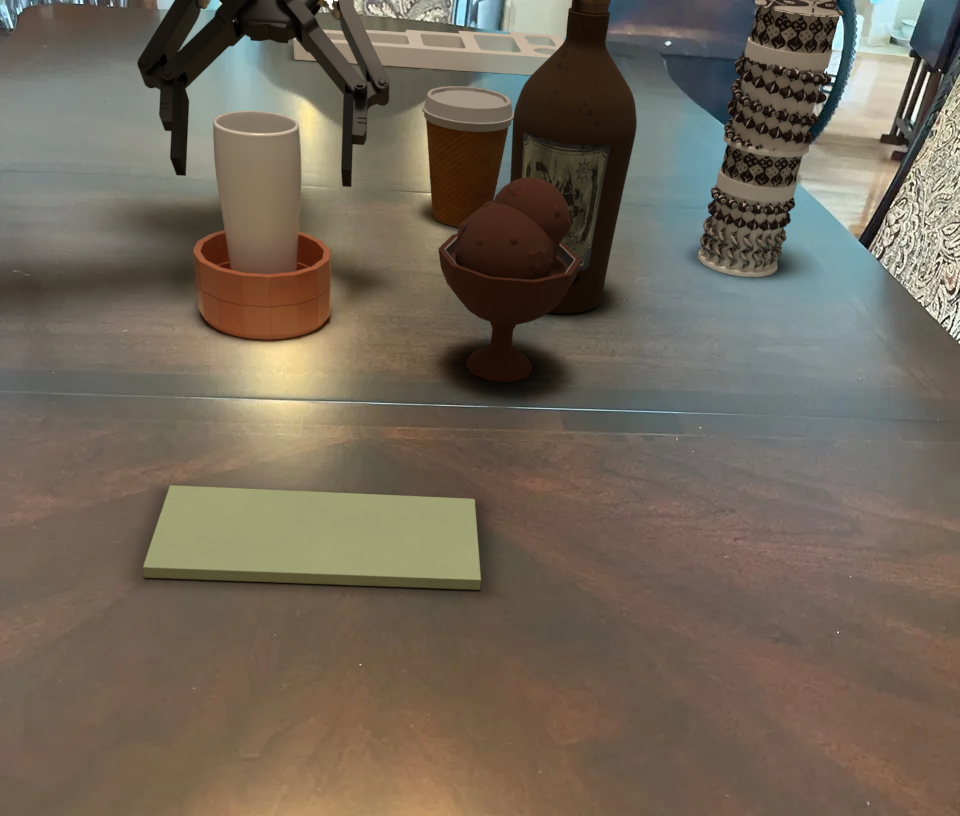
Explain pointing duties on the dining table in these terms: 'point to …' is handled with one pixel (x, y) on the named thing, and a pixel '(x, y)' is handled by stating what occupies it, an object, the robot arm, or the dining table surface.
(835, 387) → the dining table surface
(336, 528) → the mat
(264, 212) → the drinking glass
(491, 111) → the disposable coffee cup
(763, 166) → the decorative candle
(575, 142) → the olive oil
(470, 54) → the holder
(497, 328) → the ice cream bowl
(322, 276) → the pot
